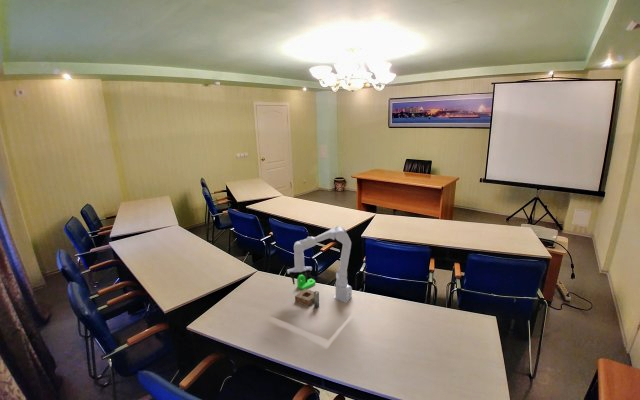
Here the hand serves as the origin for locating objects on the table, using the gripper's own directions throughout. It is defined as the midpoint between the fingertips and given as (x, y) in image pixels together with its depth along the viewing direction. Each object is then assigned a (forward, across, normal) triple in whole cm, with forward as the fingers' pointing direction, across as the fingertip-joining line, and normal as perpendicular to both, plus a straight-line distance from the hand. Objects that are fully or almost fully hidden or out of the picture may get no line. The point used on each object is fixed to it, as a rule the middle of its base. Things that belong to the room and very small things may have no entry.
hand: (300, 282), depth 171 cm
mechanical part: (+11, -7, -14) cm, 19 cm away
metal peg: (+10, -7, +12) cm, 17 cm away
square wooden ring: (+10, -3, +3) cm, 11 cm away
